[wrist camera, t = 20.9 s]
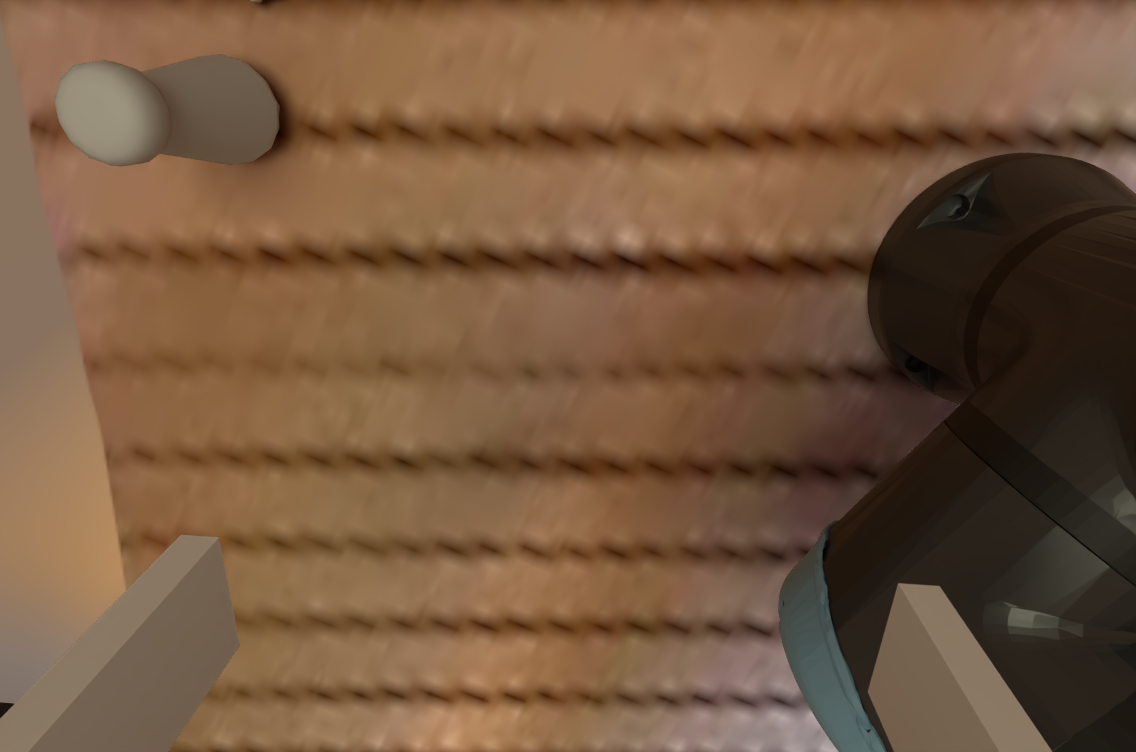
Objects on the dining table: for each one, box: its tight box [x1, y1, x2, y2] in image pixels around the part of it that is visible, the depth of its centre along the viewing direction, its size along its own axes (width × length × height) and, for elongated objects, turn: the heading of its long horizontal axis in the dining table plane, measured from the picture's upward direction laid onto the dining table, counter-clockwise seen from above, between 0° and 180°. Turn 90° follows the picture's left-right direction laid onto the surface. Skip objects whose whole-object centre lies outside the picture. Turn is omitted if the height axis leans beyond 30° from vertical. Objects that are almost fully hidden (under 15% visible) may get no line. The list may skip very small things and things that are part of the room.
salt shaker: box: [54, 54, 280, 166], centre depth 34 cm, size 6×6×13 cm
